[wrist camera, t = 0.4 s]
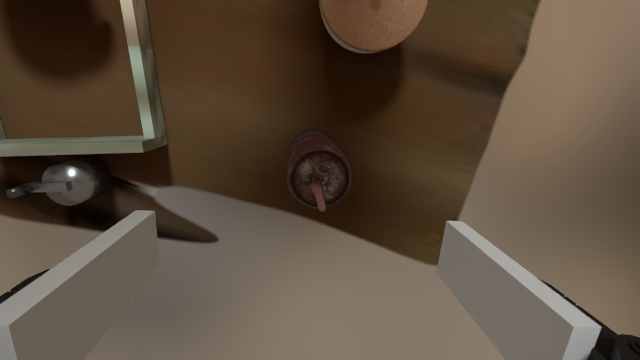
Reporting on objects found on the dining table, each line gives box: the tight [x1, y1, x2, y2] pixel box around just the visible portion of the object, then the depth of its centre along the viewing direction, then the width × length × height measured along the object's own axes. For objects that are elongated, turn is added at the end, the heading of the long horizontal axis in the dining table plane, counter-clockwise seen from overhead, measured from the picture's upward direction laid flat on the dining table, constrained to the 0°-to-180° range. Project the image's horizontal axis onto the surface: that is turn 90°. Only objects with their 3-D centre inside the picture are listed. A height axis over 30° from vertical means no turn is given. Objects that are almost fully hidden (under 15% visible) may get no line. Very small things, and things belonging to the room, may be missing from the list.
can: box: [286, 130, 352, 212], centre depth 33 cm, size 6×6×14 cm
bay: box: [0, 0, 167, 157], centre depth 31 cm, size 27×20×6 cm
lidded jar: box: [319, 0, 428, 54], centre depth 31 cm, size 11×11×9 cm
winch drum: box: [6, 157, 112, 206], centre depth 35 cm, size 5×6×7 cm
